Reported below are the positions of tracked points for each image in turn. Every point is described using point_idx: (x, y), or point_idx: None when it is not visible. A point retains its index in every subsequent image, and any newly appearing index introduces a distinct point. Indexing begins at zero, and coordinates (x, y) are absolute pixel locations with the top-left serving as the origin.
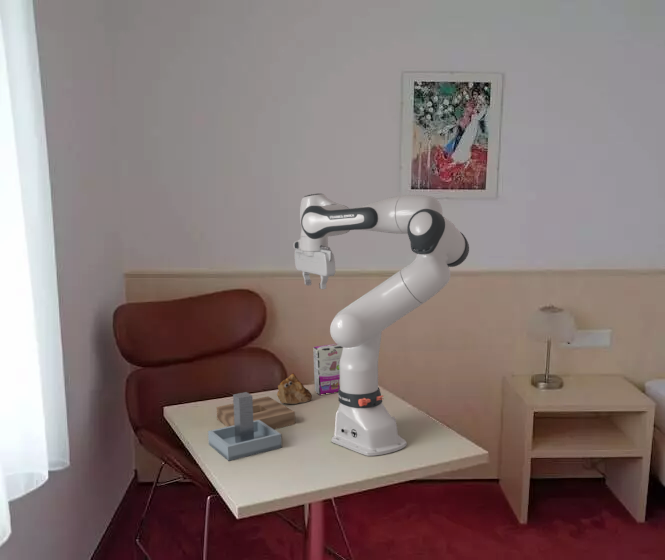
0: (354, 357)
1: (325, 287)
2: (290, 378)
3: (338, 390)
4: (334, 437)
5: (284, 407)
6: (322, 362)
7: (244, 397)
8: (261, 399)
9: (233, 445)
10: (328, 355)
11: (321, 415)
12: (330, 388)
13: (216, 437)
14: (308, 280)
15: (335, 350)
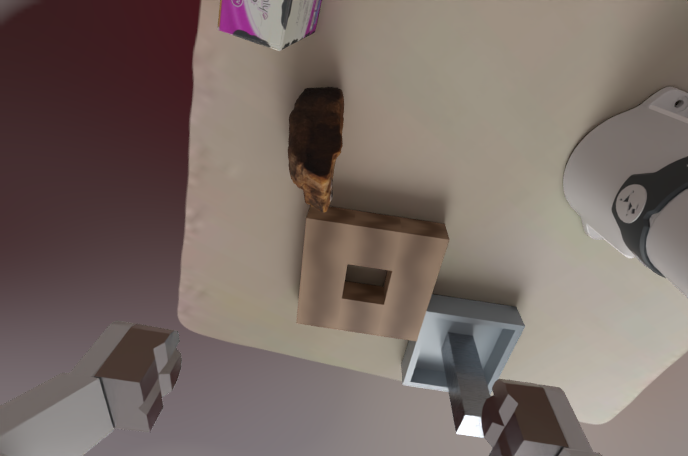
0: None
1: (562, 406)
2: (327, 186)
3: (647, 266)
4: (595, 232)
5: (406, 238)
6: (298, 25)
7: None
8: (316, 241)
9: (491, 391)
10: None
11: (450, 144)
12: None
13: (439, 390)
14: (148, 411)
15: None
